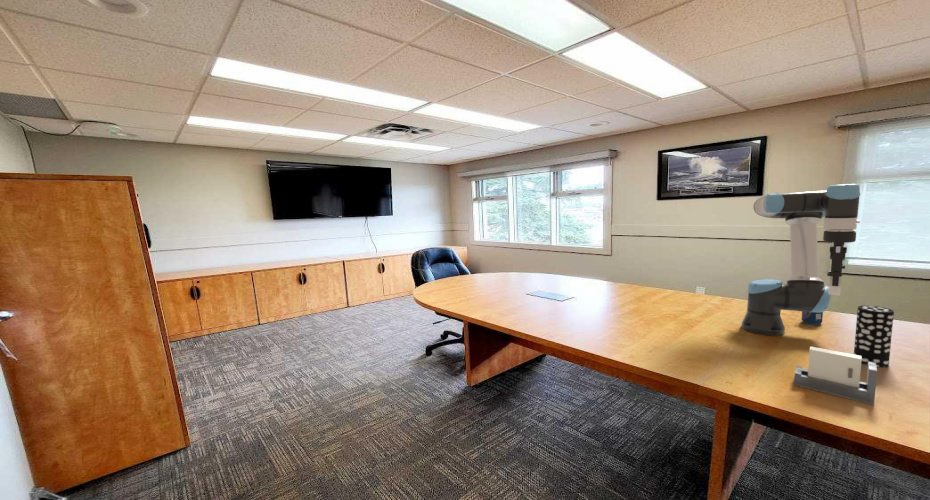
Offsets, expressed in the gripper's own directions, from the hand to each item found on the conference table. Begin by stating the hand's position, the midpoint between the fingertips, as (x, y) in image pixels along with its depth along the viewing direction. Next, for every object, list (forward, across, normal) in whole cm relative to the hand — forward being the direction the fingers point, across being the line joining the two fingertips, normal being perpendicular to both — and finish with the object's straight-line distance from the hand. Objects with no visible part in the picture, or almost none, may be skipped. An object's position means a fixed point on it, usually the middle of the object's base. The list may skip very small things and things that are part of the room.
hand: (834, 290), depth 119 cm
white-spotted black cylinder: (+29, +14, -10) cm, 33 cm away
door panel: (+27, -20, -1) cm, 34 cm away
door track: (+28, -20, -1) cm, 34 cm away
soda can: (+29, +53, +7) cm, 61 cm away
